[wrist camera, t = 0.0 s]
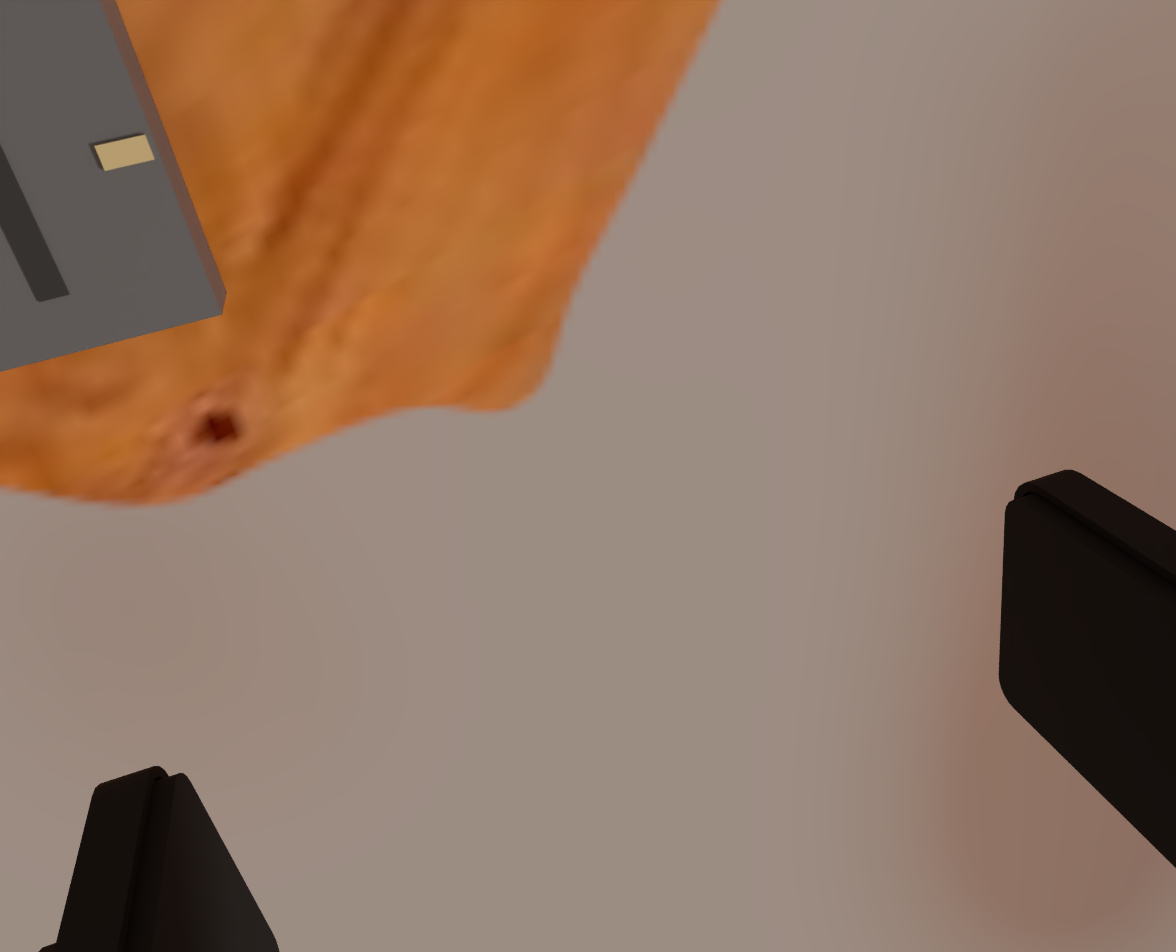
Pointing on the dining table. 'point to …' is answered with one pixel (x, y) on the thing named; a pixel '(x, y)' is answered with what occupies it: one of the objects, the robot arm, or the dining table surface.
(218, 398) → the dining table surface
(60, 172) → the console
